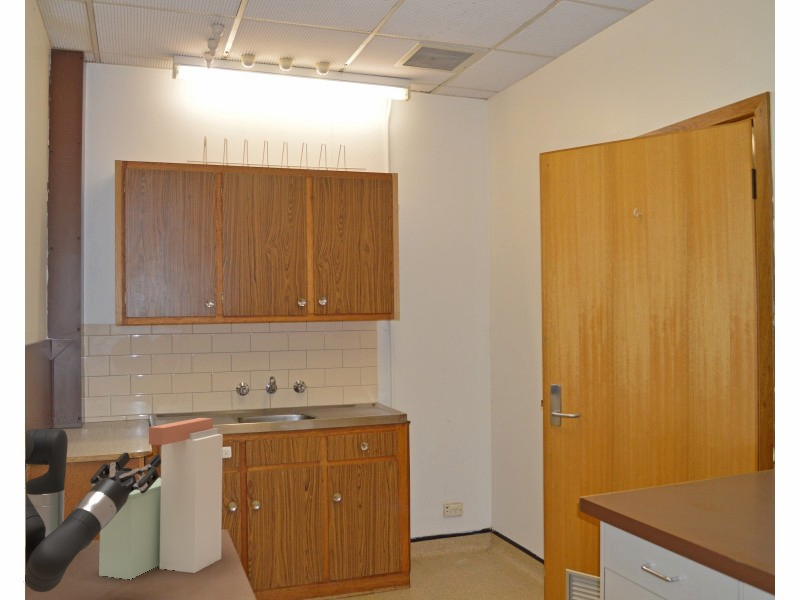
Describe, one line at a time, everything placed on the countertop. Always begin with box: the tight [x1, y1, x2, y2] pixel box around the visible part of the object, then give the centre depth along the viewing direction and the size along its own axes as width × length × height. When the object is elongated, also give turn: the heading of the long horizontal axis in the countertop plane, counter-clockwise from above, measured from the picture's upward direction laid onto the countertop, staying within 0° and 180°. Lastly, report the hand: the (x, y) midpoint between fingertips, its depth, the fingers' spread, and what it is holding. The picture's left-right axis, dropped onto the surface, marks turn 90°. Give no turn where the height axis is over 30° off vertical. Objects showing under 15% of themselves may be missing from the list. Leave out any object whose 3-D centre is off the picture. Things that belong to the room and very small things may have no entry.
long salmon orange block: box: [148, 417, 214, 446], centre depth 182 cm, size 4×21×4 cm, turn 162°
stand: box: [158, 427, 224, 574], centre depth 185 cm, size 10×12×34 cm
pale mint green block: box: [98, 477, 161, 581], centre depth 183 cm, size 10×20×20 cm, turn 162°
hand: (143, 456), depth 167 cm, fingers open, 8 cm apart
